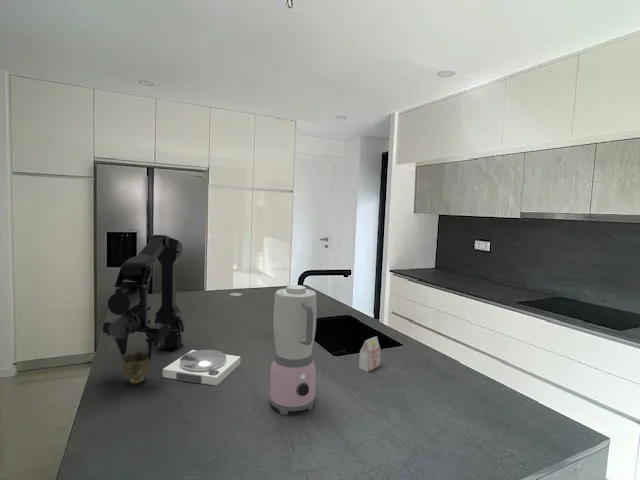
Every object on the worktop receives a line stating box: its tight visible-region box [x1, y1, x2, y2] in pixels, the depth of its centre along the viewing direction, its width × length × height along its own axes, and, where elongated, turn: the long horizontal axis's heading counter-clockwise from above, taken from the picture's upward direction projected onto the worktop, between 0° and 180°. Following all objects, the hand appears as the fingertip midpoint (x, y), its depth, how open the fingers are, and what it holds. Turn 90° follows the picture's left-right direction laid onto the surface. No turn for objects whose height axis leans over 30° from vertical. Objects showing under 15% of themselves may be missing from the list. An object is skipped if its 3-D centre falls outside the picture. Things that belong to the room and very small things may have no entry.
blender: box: [269, 284, 318, 416], centre depth 98 cm, size 16×12×32 cm
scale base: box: [162, 349, 242, 386], centre depth 118 cm, size 18×16×3 cm
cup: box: [121, 350, 151, 385], centre depth 108 cm, size 8×7×8 cm
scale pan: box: [180, 349, 227, 371], centre depth 118 cm, size 14×14×1 cm
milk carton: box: [358, 336, 382, 373], centre depth 125 cm, size 4×7×10 cm, turn 136°
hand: (136, 356), depth 108 cm, fingers open, 9 cm apart
